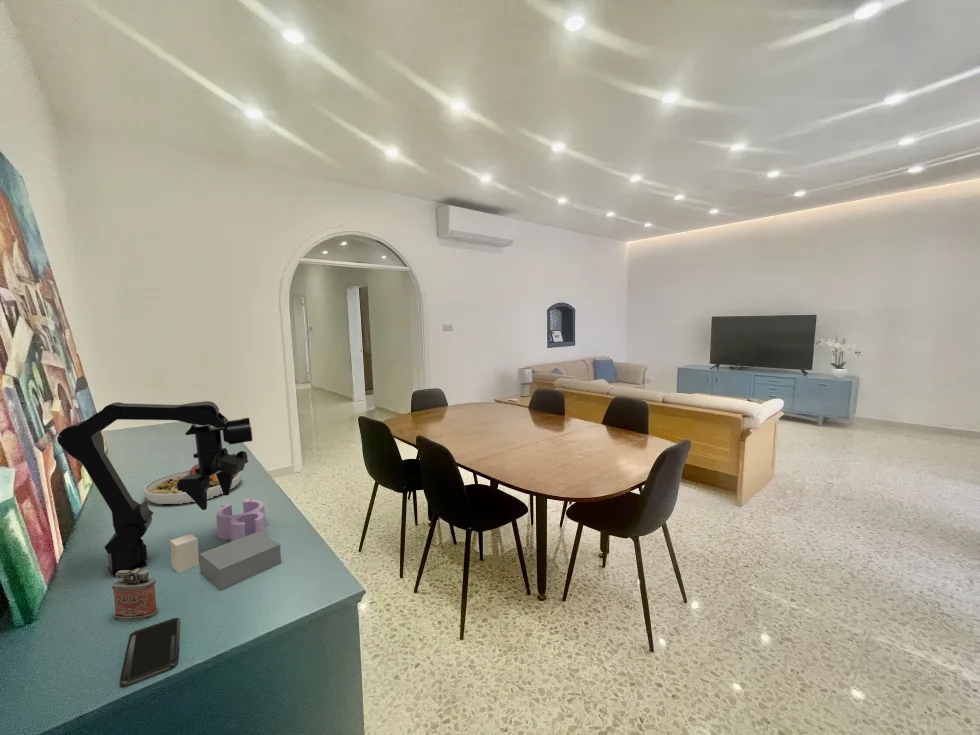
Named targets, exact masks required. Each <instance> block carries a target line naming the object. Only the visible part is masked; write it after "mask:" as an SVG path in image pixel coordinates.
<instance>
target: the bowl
mask: <svg viewBox="0 0 980 735" xmlns="http://www.w3.org/2000/svg"><path fill="white" fill-rule="evenodd" d="M197 468H199V464H198V463H197V464H195V465H193V466H192V467H191V469H190V470H184V471H180V472H176V473H172V474H169V475H165V476H163V477H159V478H157V479H155V480H152V481H151V482H149V483H147V484H146V485H145V486H144V487H143V495H144V497H145V498H146V500H148V501H149V502H151V503H153V504H157V505H161V504H180V505H184V504H183V503H188V504H191V503H190V502H194V500H193V499H192V498H191V497H190V496H189V495H188V494H187V493H186V492H182V491H178V490H177V482H178V481H179V480H180V479H182V478H184V477H186V476H188V475H194V474H201V473H195V469H197ZM241 479H242V471H240V472H238V473H237V474H235V475H234V477H233V480H232V484H231V488H230V491H232V490H233V489H234V488H236V487H237V486H238V484H239V483H240V482H241ZM209 485H211V486H210V487H209V489H208V490H207V498H210V497H214V496H217V495H219V494H222V493H223V491H222V489H221V486H220V484H219V481H218V478H217V476H216V474H215V475H214V476H212V477H210V483H209ZM236 485H237V486H236ZM235 486H236V487H235ZM232 488H233V489H232ZM231 489H232V490H231ZM222 495H223V494H222ZM217 497H218V496H217ZM214 498H215V497H214ZM194 503H195V502H194Z"/></svg>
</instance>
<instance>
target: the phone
mask: <svg viewBox="0 0 980 735" xmlns="http://www.w3.org/2000/svg"><path fill="white" fill-rule="evenodd" d="M180 630H181V619H180V618H179V617H174V618H171V619H167V620H164V621H161V622H158V623H155V624H152V625H149V626H146V627H142V628H139V629H137V630H134V631H133V632H132V633H130V635H129V637H128V642H127V647H126V651H125V655H124V659H123V664H122V669H121V675H120V677H119V686H120V687H121V688H127V687H130V686H133V685H135V684H137V683H140V682H143V681H146V680H148V679H151V678H153V677H155V676H159V675H161V674H164V673H167V672H168V671H171V670H173V669H175V668H176V667H177V666H178V665H179V658H180V632H181V631H180Z"/></svg>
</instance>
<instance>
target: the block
mask: <svg viewBox="0 0 980 735" xmlns="http://www.w3.org/2000/svg"><path fill="white" fill-rule="evenodd" d="M169 542H170V546H169V547H170V559H171V560H170V562H171V568H173V569H174V570H175V572H176V573H181V572H184V571H187V570H188V569H191V568H194V567H196V566H198V565H199V566H200V555H199V539H198V537H196V536H195V535H193V534H192V533H189V534H185V535H182V536H181V537H177V538H172V539H171V540H170V541H169Z"/></svg>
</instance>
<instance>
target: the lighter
mask: <svg viewBox="0 0 980 735" xmlns="http://www.w3.org/2000/svg"><path fill="white" fill-rule="evenodd" d="M149 575H150V574H149V570H142V569H141V568H137V569H135V570H132V571H130V570H120V571H118V572H117V573H116V577H115V579H116V581H115V582H113V583H112V584H111V587H112V590H113V595H114V596H113V597H114V599H113V600H114V612H115V613H114V614H113V617H114V620H115V621H118V622H120V621H121V622H138V621H145V620H149V619H153V618H154V617H155V616H157V614H158V612H159V611H158V607H157V599H156V597H157V596H156V584H157V583H156V578H155V577H149ZM118 579H119V580H118Z"/></svg>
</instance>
